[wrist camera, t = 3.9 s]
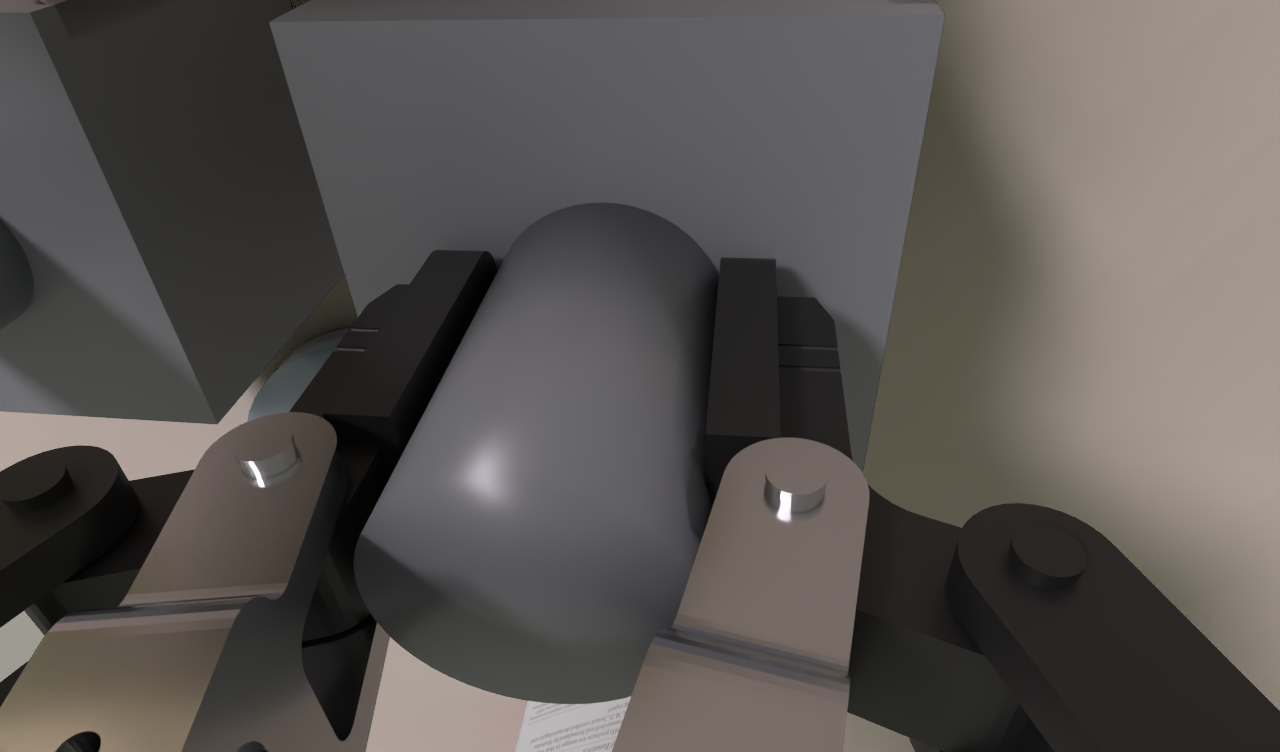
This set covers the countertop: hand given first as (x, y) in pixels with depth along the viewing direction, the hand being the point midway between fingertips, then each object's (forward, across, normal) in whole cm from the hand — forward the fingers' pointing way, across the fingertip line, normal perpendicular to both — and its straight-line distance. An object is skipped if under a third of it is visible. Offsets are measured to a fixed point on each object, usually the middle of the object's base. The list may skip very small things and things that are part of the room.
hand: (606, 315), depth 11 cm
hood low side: (+7, 0, 0) cm, 7 cm away
